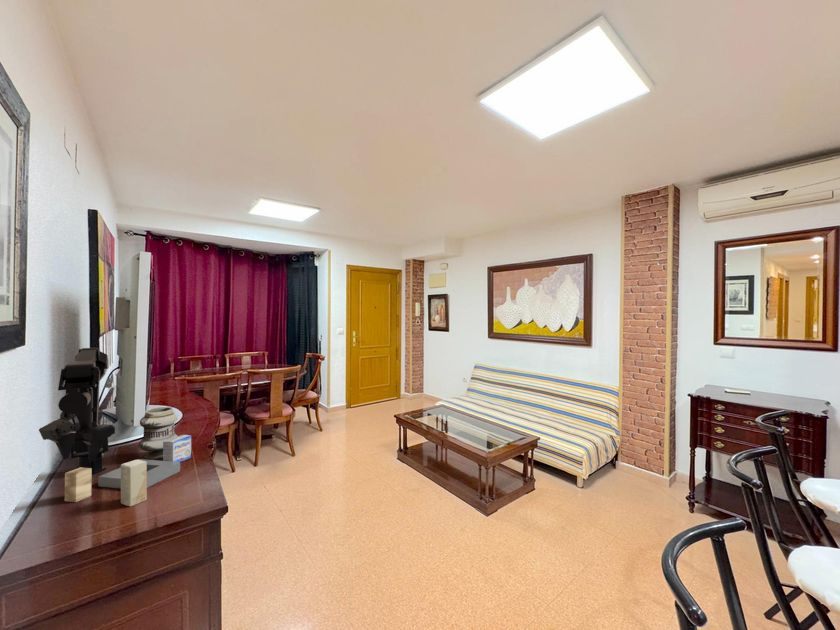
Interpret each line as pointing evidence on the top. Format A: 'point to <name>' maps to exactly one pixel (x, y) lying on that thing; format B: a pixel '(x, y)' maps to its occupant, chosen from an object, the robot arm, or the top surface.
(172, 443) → the medicine box
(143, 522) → the top surface
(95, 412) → the robot arm
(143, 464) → the box
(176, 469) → the pocket plate
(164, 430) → the apothecary jar
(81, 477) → the maple block
